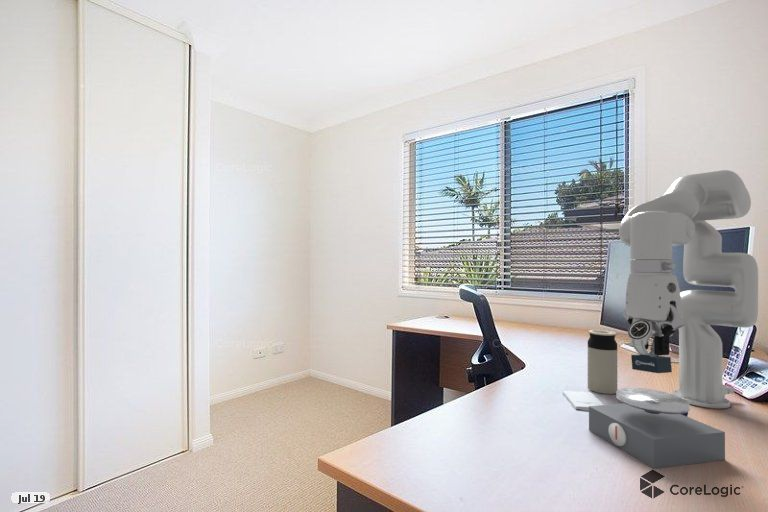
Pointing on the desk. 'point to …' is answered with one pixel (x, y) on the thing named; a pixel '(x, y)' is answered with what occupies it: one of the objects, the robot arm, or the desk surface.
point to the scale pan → (653, 401)
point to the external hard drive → (581, 399)
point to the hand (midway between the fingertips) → (651, 351)
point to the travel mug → (602, 361)
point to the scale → (657, 435)
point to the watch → (639, 338)
